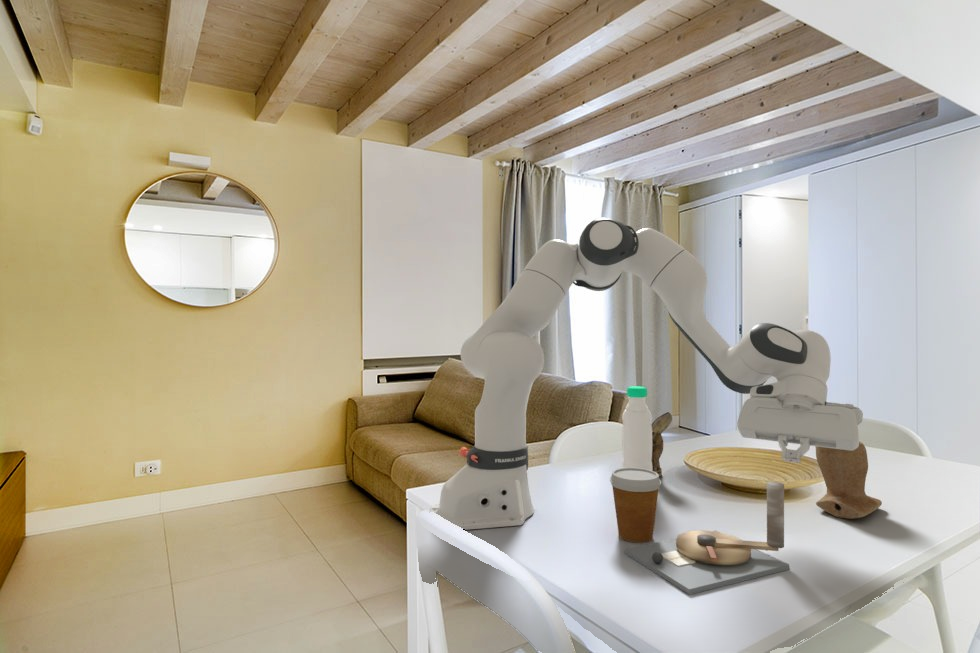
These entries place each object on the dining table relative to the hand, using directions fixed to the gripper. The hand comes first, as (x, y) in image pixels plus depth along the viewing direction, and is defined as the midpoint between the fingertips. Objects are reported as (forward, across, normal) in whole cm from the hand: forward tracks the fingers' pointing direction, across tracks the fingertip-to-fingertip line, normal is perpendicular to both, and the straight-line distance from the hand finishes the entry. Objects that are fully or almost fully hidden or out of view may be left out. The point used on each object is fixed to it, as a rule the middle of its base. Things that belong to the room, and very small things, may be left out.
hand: (790, 460), depth 102 cm
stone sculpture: (-7, +37, -29) cm, 48 cm away
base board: (+23, +10, +2) cm, 25 cm away
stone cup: (-7, -6, -29) cm, 31 cm away
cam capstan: (+20, +7, +1) cm, 21 cm away
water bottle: (+2, +35, -20) cm, 40 cm away
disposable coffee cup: (+21, +24, -1) cm, 32 cm away
